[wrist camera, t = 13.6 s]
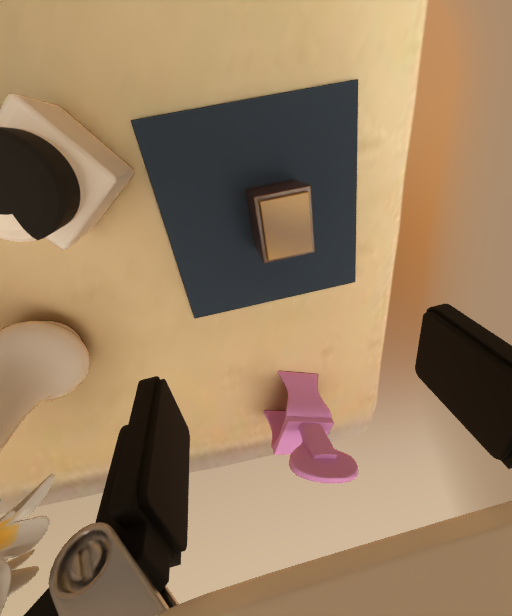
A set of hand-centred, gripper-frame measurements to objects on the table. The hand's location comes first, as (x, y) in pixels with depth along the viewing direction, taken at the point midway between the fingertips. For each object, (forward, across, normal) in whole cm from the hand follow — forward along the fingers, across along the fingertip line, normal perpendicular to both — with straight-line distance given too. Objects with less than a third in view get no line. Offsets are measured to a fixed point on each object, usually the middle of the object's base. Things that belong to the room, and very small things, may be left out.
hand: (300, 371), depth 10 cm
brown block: (+23, -4, 0) cm, 23 cm away
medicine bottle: (+24, +13, -7) cm, 28 cm away
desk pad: (+23, -3, 0) cm, 23 cm away
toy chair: (+23, -3, +27) cm, 36 cm away
